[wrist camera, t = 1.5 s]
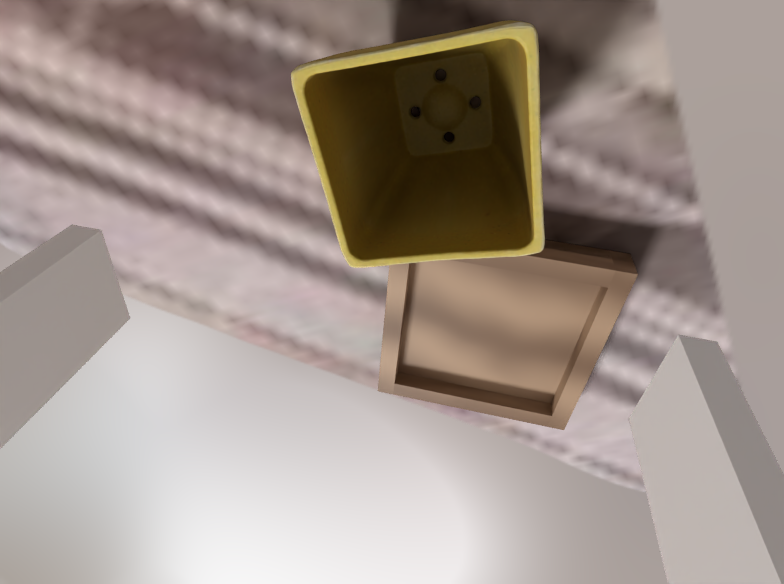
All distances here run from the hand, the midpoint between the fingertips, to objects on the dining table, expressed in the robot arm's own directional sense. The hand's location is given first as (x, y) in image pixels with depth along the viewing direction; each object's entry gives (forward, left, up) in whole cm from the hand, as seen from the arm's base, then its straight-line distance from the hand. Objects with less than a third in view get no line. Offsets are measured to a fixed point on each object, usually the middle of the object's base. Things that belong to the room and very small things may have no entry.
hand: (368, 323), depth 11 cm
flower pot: (0, 0, -19) cm, 19 cm away
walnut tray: (+14, +5, -18) cm, 24 cm away
